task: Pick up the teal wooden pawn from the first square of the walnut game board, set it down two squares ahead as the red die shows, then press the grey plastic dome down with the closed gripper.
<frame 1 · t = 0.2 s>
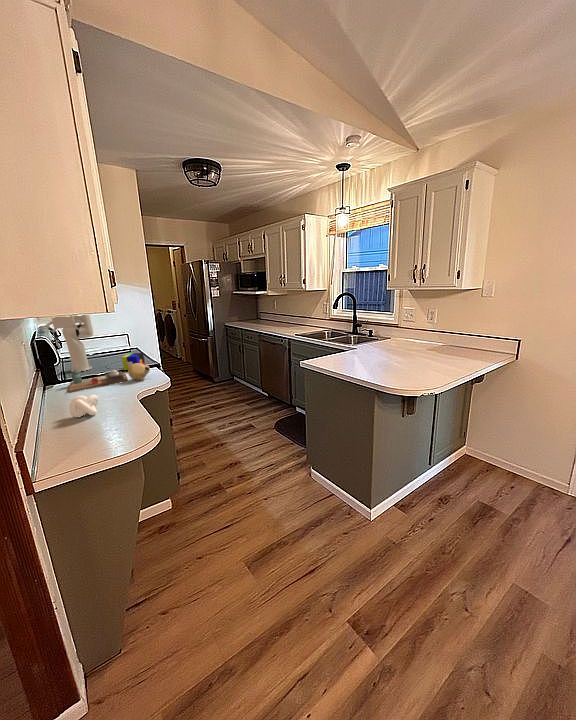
hand: (67, 337, 180), 30 cm above the worktop, tool pointing down, fingers open, 9 cm apart
white knot: (85, 415, 149), on the worktop
game board: (99, 382, 195), on the worktop
dome: (113, 373, 194), point 5 cm above the worktop, slide at 0.0 cm
puzzle toy: (135, 369, 221), on the worktop
pawn: (77, 382, 192), point 2 cm above the worktop, touching game board
toy pig: (140, 379, 197), on the worktop
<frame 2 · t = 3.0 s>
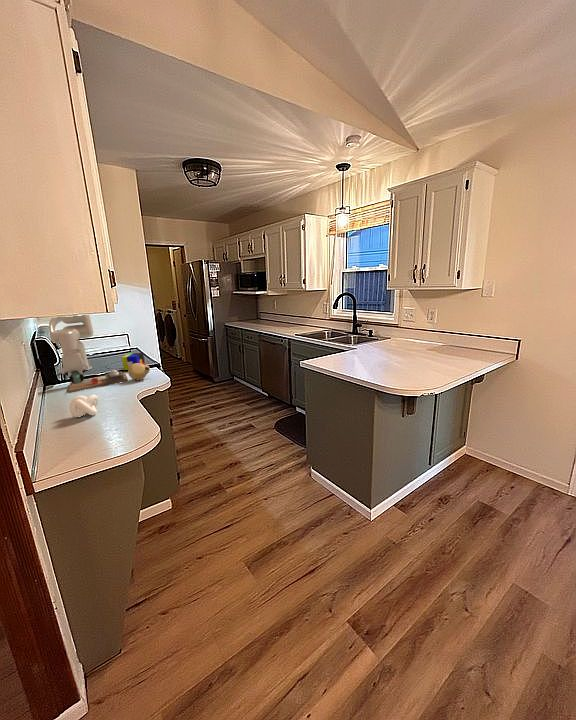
hand: (77, 381, 192), 3 cm above the worktop, tool pointing down, fingers closed on pawn, 4 cm apart
pawn: (77, 382, 192), point 2 cm above the worktop, touching game board, gripper
everything else where it was.
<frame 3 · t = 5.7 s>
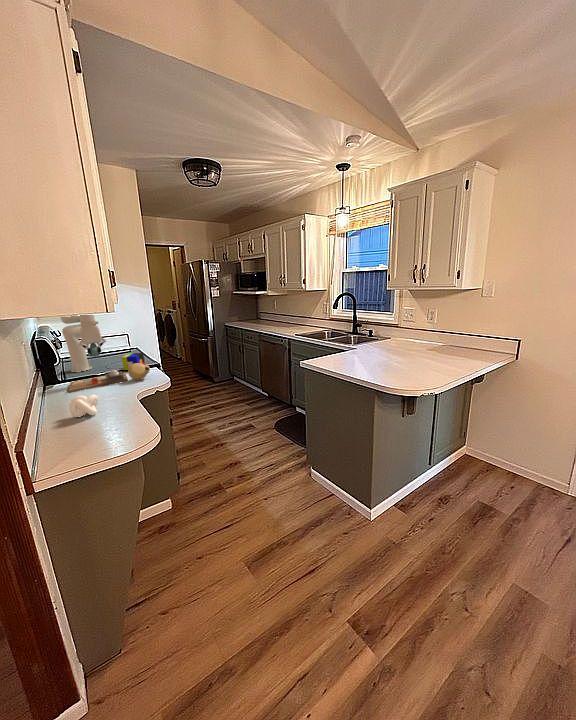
hand: (95, 354, 194), 17 cm above the worktop, tool pointing down, fingers closed on pawn, 4 cm apart
pawn: (95, 355, 194), point 16 cm above the worktop, touching gripper
everything else where it was.
when the fingers open (3 cm above the worktop, at t = 8.5 s): pawn stays where it is, resting on game board.
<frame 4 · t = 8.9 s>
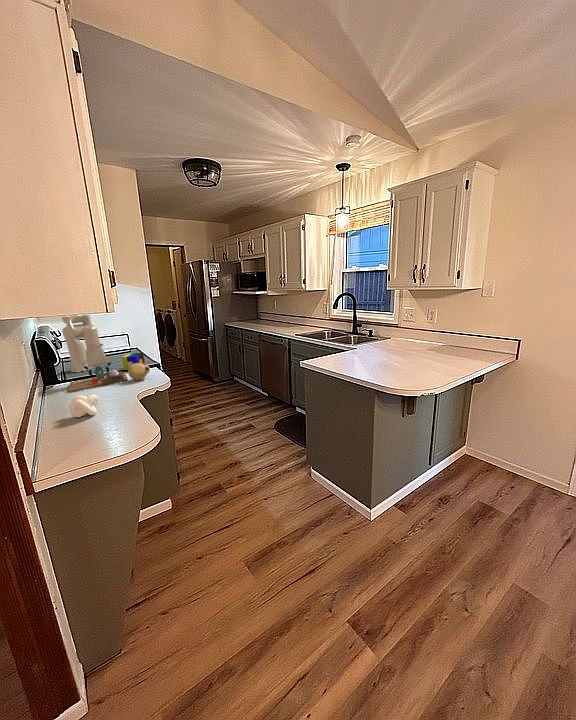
hand: (99, 374, 197), 4 cm above the worktop, tool pointing down, fingers open, 8 cm apart
pawn: (100, 378, 198), point 2 cm above the worktop, touching game board
everything else where it was.
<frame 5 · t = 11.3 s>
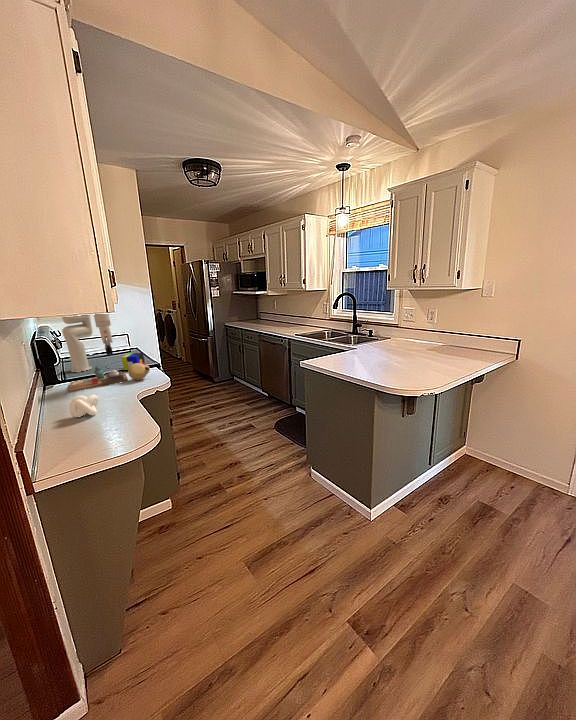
hand: (109, 352, 190), 18 cm above the worktop, tool pointing down, fingers open, 7 cm apart
nothing on the worktop moved.
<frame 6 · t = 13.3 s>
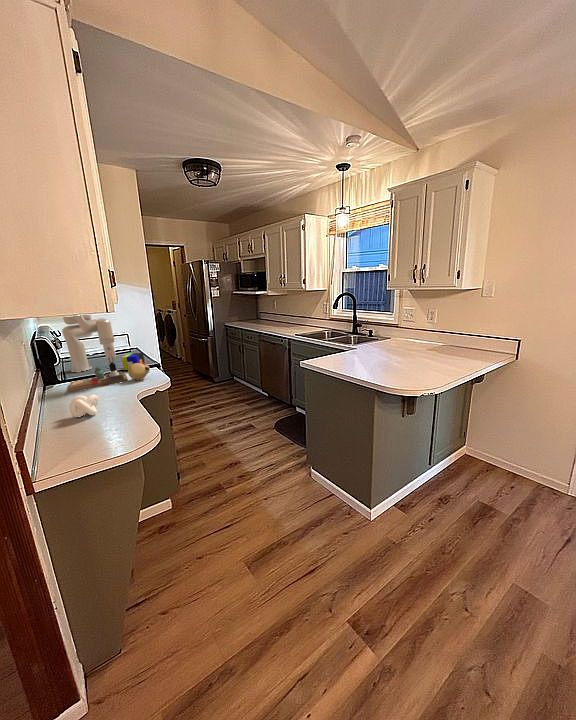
hand: (113, 370, 193), 7 cm above the worktop, tool pointing down, fingers closed
dome: (113, 373, 194), point 5 cm above the worktop, slide at -0.4 cm, touching gripper
everything else where it was.
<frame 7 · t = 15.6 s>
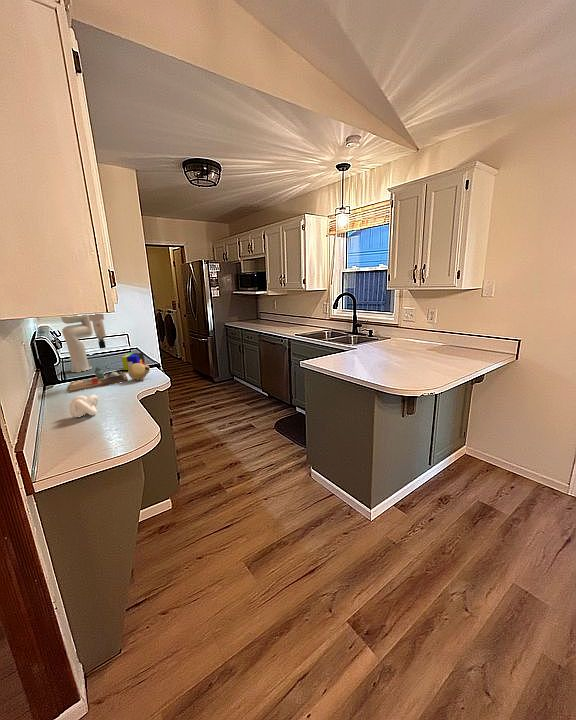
hand: (102, 347, 192), 21 cm above the worktop, tool pointing down, fingers closed
dome: (114, 375, 194), point 4 cm above the worktop, slide at -1.4 cm
everything else where it was.
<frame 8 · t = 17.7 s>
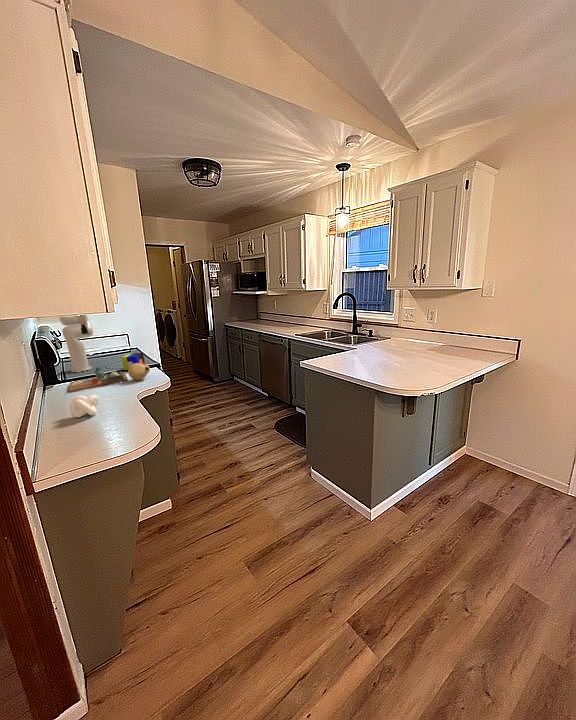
hand: (85, 333, 196), 29 cm above the worktop, tool pointing down, fingers closed
nothing on the worktop moved.
at the end: pawn 0.1 cm from the target spot, point 1.8 cm above the worktop; pawn tilted 1°; dome slide at -1.4 cm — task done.
